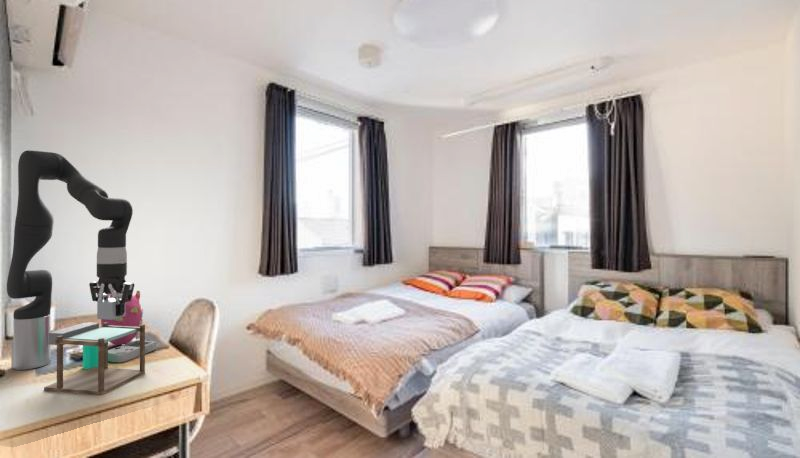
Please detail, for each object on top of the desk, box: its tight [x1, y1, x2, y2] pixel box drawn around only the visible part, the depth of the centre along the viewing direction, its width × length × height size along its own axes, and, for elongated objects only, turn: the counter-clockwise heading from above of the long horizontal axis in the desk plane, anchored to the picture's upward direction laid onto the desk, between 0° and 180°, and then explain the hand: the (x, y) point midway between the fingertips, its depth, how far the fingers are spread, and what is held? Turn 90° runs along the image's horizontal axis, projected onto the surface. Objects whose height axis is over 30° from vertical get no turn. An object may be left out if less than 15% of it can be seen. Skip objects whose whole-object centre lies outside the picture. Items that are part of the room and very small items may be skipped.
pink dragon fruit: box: [100, 287, 144, 346], centre depth 152 cm, size 18×14×30 cm
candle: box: [82, 345, 98, 370], centre depth 131 cm, size 6×6×12 cm
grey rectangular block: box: [96, 297, 126, 320], centre depth 117 cm, size 5×5×6 cm
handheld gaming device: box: [108, 339, 157, 363], centre depth 141 cm, size 9×15×4 cm, turn 167°
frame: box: [43, 322, 146, 396], centre depth 118 cm, size 19×16×16 cm
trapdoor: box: [49, 321, 136, 346], centre depth 118 cm, size 19×12×4 cm, turn 83°
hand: (111, 314), depth 117 cm, fingers closed on grey rectangular block, 5 cm apart
